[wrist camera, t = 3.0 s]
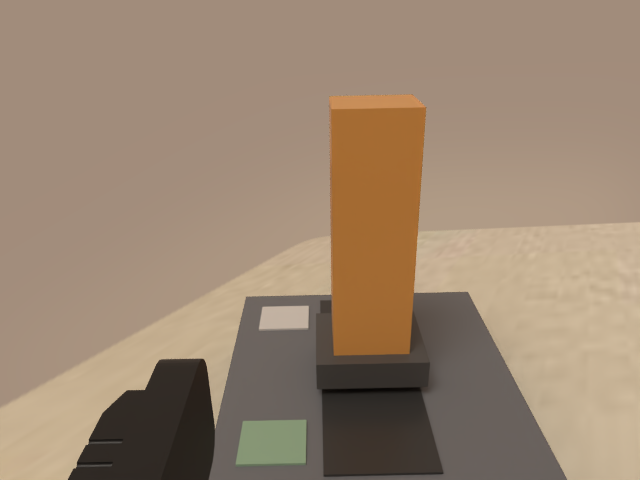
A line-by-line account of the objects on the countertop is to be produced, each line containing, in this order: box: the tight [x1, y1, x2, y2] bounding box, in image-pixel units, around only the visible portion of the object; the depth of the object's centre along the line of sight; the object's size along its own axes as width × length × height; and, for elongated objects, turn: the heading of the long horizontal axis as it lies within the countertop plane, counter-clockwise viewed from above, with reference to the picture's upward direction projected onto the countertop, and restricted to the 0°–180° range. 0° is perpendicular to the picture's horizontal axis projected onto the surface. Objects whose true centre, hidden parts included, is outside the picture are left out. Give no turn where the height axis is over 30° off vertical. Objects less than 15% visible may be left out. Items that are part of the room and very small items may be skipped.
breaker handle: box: [316, 95, 430, 389], centre depth 20 cm, size 4×4×11 cm
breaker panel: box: [209, 292, 567, 480], centre depth 23 cm, size 12×12×3 cm
